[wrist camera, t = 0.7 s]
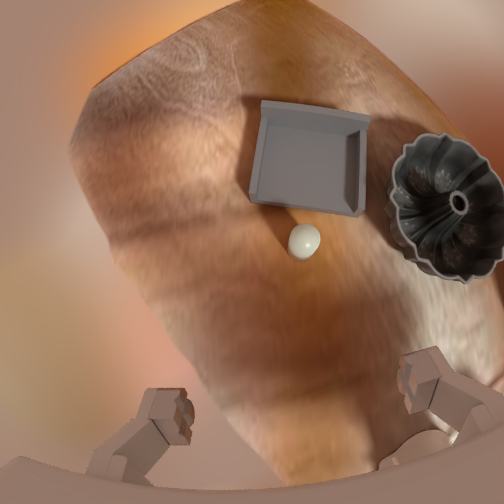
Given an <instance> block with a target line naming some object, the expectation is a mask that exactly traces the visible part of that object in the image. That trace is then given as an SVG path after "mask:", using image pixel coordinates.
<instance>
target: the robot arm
mask: <svg viewBox="0 0 504 504" xmlns="http://www.w3.org/2000/svg"><path fill="white" fill-rule="evenodd" d="M399 365H400V369H399V370H398V371H397V385H398V389H399V391H400V394H402V395H404V396H405V399H404V404H405V406H406V408H407V411H408V413H409V414H413V413H417V412H420V411H423V410H427V409H429V411H431V412H432V413H433V414H435V415H436V416H438V417H439V418H440V419H442V420H443V421H444V422H446V423H447V424H448V425H450V426H451V427H452V428H454V429H455V430H456V431H458V432H459V434H458V436H457V438H456V440H455V441H454V443H453V444H452V442H451V440H450V438H449V437H448V435H447V434H446V433H444V432H443V431H440V430H426V431H423V432H420V433H418V434H416V435H414V436H413V437H411V438H410V439H408V440H407V441H406V442H405V443H403V444H402V445H401V446H400V447H399V448H398V449H397V450H396V451H395V452H394V453H393V454H391V455H389V456H387V457H386V458H384V459H383V460H381V462H380V463H379V469H378V470H377V471H373V472H369V473H365V474H361V475H356V476H351V477H347V478H342V479H336V480H331V481H325V482H319V483H312V484H305V485H297V486H288V487H278V488H265V489H247V490H196V489H178V488H165V487H156V486H154V485H153V484H152V483H151V482H150V481H149V480H148V479H147V478H146V477H145V475H146V474H147V473H148V471H149V470H150V469H151V468H152V467H153V465H155V463H156V462H157V461H158V460H159V459H160V458H161V456H162V455H163V454H164V453H165V452H166V450H167V449H168V448H169V447H170V446H169V445H190V442H191V436H192V431H191V429H190V426H191V425H192V424H193V423H194V419H195V412H194V407H193V404H192V402H191V401H190V400H189V399H187V392H186V390H185V388H147V389H146V391H145V393H144V395H143V398H142V401H141V404H140V407H139V410H138V413H137V416H136V419H131V420H130V421H129V422H128V423H127V424H126V425H124V426H123V427H122V428H121V429H120V430H118V431H117V432H116V433H115V434H114V435H112V436H111V437H110V438H109V439H107V440H106V441H105V442H104V443H103V444H101V445H100V446H99V447H98V448H97V449H95V450H94V452H93V454H92V457H91V460H90V462H89V465H88V468H87V471H86V474H81V473H77V472H73V471H69V470H66V469H62V468H59V467H55V466H52V465H48V464H45V463H42V462H39V461H36V460H33V459H30V458H27V457H23V456H19V457H17V458H15V459H13V460H11V461H10V462H9V463H7V464H6V465H4V466H3V467H2V468H0V504H504V396H503V395H502V393H499V392H497V391H495V390H493V389H491V388H489V387H487V386H485V385H483V384H481V383H479V382H477V381H475V380H473V379H471V378H469V377H467V376H465V375H463V374H461V373H459V372H456V373H454V372H453V370H452V368H451V367H450V365H449V364H448V362H447V360H446V359H445V357H444V356H443V354H442V353H441V351H440V349H439V348H438V347H437V346H433V347H429V348H426V349H422V350H419V351H415V352H412V353H408V354H405V355H401V356H400V358H399Z"/></svg>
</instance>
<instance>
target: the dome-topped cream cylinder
mask: <svg viewBox="0 0 504 504" xmlns="http://www.w3.org/2000/svg"><path fill="white" fill-rule="evenodd" d="M319 244H320V234H319V232H318V230H317V229H316V228H315V227H314V226H312V225H310V224H300V225H297V226H296V227H295V228H294V229H293V230H292V231H291V234H290V238H289V242H288V247H287V251H288V255H289V256H290V258H291V259H293V260H294V261H297V262H304V261H307V260H308V259H309V258H310V257H311V256H312V255H313V253H314V252H315V250H316V249H317V248H318V246H319Z"/></svg>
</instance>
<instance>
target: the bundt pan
mask: <svg viewBox="0 0 504 504" xmlns="http://www.w3.org/2000/svg"><path fill="white" fill-rule="evenodd" d="M386 192H387V197H388V202H387V204H386V205H385V207H384V212H385V213H386V214H387V215H388V217H389V218H390V224H389V226H390V233H391V236H392V238H393V239H394V241H395V242H396V243H397V244H398V245H400V246H401V247H403V253H404V258H405V259H406V260H411V261H415V262H416V264H417V266H418V267H419V269H420V270H421V271H423V272H424V273H426V274H429V275H433V276H438V277H440V278H442V279H445V280H454V281H460V282H462V283H463V284H468V283H469V282H470V281H471V280H472V279H473V278H475V279H482V278H486V277H488V276H489V275H490V274H491V273H492V272H493V270H494V268H495V266H496V264H497V263H498V262H501V261H503V260H504V186H503V184H502V182H501V180H500V178H499V176H498V175H497V174H496V173H495V172H494V171H493V170H492V169H491V166H490V163H489V161H488V159H487V158H485V157H483V156H481V155H480V154H479V153H478V152H477V150H476V149H475V148H474V147H473V146H472V145H471V144H469V143H468V142H466V141H464V140H462V139H458V138H452V137H451V136H450V135H449V134H447V133H445V132H444V133H442V134H440V135H436V134H433V133H424V134H421V135H419V136H417V137H416V139H415V140H414V141H413V143H407V144H404V145H403V146H402V154H401V155H400V156H399V157H398V158H397V159H396V160H395V162H394V163H393V165H392V168H391V176H390V178H389V181H388V183H387V188H386Z"/></svg>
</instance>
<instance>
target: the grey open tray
mask: <svg viewBox="0 0 504 504" xmlns="http://www.w3.org/2000/svg"><path fill="white" fill-rule="evenodd" d="M370 123H371V116H369V115H364V114H359V113H354V112H349V111H343V110H337V109H331V108H325V107H318V106H311V105H304V104H296V103H288V102H278V101H268V100H262V102H261V121H260V127H259V133H258V139H257V145H256V151H255V157H254V163H253V169H252V175H251V181H250V187H249V197H250V202H251V203H257V204H265V205H273V206H281V207H289V208H296V209H303V210H310V211H317V212H324V213H331V214H338V215H344V216H350V217H357V218H358V217H359V215H360V214H361V213H362V212H363V211H364V210H365V200H366V166H367V129H368V127H369V125H370Z"/></svg>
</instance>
